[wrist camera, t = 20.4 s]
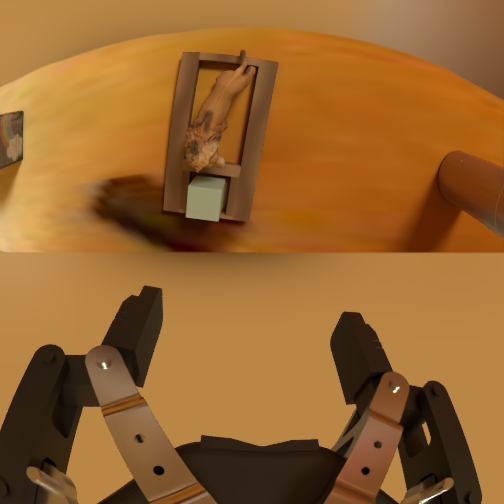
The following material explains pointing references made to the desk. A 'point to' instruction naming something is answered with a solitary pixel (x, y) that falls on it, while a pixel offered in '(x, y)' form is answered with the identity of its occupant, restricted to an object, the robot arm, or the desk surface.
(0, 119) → the chalk box
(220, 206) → the block
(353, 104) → the desk surface
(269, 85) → the board
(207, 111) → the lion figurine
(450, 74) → the desk surface
